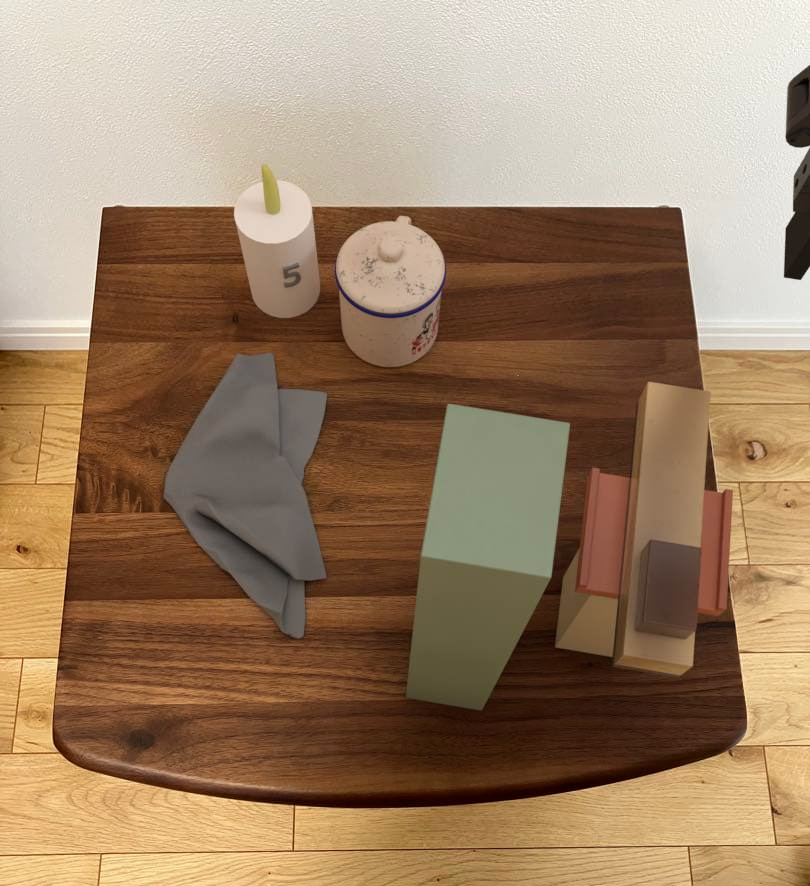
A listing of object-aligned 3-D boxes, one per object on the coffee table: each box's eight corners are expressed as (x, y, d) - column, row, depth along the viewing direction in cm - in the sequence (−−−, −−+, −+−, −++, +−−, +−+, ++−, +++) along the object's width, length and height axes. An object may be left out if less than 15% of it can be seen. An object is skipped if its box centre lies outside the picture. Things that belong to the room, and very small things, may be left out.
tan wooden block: (696, 413, 63) (721, 374, 59) (678, 678, 57) (704, 658, 52) (636, 403, 63) (656, 364, 59) (611, 666, 57) (631, 646, 53)
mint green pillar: (495, 613, 77) (570, 422, 46) (481, 711, 74) (551, 578, 43) (422, 600, 77) (447, 402, 46) (405, 697, 74) (420, 556, 44)
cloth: (178, 352, 85) (173, 338, 83) (334, 354, 85) (332, 340, 83) (150, 638, 76) (144, 631, 74) (325, 640, 76) (323, 632, 74)
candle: (265, 329, 86) (241, 218, 72) (241, 272, 88) (214, 153, 74) (331, 307, 87) (320, 193, 73) (306, 251, 89) (291, 129, 75)
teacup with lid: (431, 379, 84) (438, 302, 73) (330, 362, 85) (322, 283, 74) (452, 267, 88) (462, 178, 78) (355, 252, 89) (351, 161, 78)
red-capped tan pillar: (655, 580, 78) (733, 489, 61) (647, 675, 75) (726, 609, 58) (546, 562, 79) (592, 467, 61) (534, 656, 76) (579, 584, 58)
